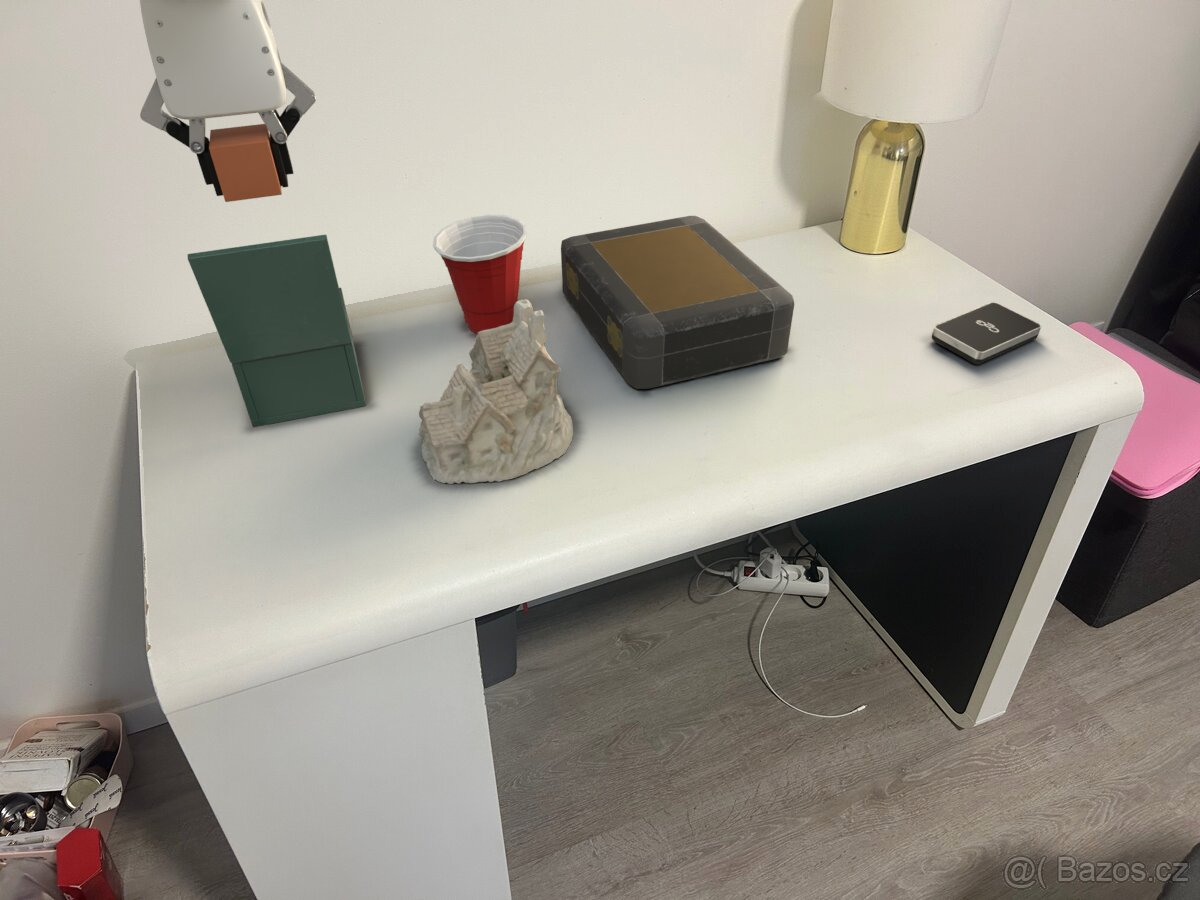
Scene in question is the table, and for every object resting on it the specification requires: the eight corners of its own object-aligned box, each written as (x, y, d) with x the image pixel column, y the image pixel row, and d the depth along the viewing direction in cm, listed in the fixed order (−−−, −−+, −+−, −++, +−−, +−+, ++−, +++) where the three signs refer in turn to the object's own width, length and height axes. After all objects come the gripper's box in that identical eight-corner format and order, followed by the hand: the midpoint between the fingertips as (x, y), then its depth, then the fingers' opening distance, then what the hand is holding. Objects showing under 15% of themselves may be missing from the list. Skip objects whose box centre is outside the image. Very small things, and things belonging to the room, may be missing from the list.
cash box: (796, 357, 97) (806, 297, 92) (634, 395, 92) (635, 334, 87) (699, 264, 115) (703, 210, 110) (558, 291, 110) (556, 236, 105)
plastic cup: (438, 310, 106) (424, 219, 99) (522, 296, 109) (515, 207, 101) (453, 354, 98) (439, 260, 91) (543, 338, 101) (537, 245, 93)
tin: (251, 364, 97) (232, 304, 92) (354, 346, 100) (341, 287, 95) (253, 427, 88) (231, 364, 83) (366, 405, 91) (352, 343, 86)
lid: (187, 253, 72) (187, 259, 72) (326, 233, 75) (327, 239, 75) (230, 358, 83) (230, 363, 83) (350, 337, 86) (351, 342, 85)
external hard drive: (1038, 340, 99) (1043, 325, 98) (975, 369, 95) (980, 354, 94) (989, 315, 104) (993, 301, 103) (926, 341, 99) (930, 326, 98)
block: (225, 202, 77) (208, 147, 74) (226, 182, 81) (210, 129, 78) (282, 195, 79) (268, 140, 75) (280, 175, 82) (266, 123, 79)
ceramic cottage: (552, 373, 95) (537, 253, 85) (589, 469, 83) (576, 343, 73) (413, 402, 92) (381, 282, 82) (430, 505, 80) (395, 380, 70)
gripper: (298, -48, 73) (341, 160, 84) (82, -34, 69) (158, 183, 80) (302, -33, 67) (348, 188, 79) (68, -16, 63) (152, 215, 75)
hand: (252, 184), depth 80 cm, fingers closed on block, 5 cm apart
